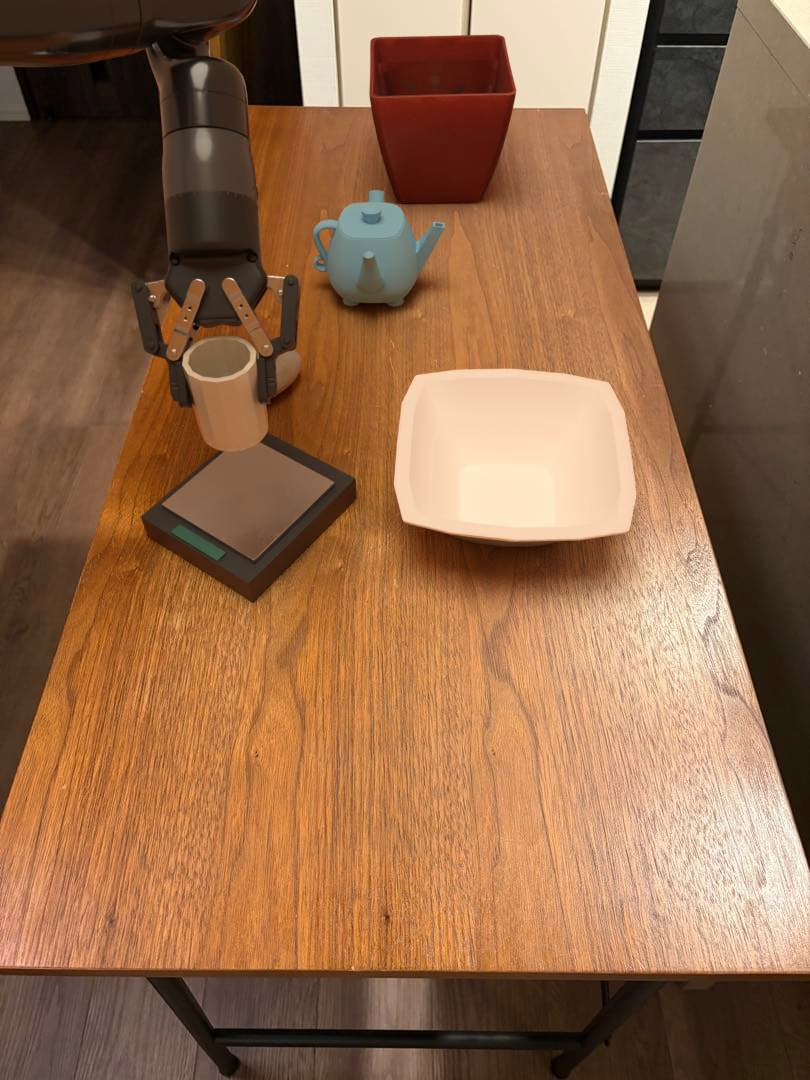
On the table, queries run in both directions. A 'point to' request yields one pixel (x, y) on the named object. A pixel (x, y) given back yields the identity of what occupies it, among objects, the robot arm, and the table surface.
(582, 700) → the table surface
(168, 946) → the table surface
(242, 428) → the cup
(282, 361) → the stone
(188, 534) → the scale
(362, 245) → the teapot
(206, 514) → the scale pan
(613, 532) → the bowl
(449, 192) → the flower pot
